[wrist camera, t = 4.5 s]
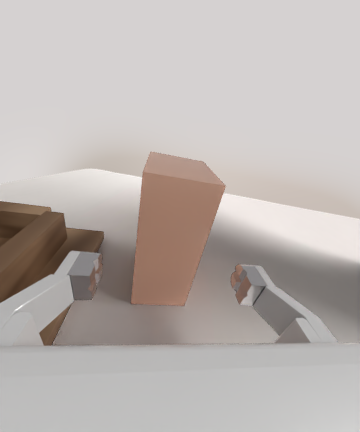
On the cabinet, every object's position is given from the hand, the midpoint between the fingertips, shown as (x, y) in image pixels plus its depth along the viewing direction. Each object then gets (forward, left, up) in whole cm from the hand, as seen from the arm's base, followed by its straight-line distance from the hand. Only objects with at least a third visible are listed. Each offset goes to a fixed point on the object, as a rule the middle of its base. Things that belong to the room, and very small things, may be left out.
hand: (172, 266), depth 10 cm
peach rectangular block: (+2, -4, -6) cm, 7 cm away
